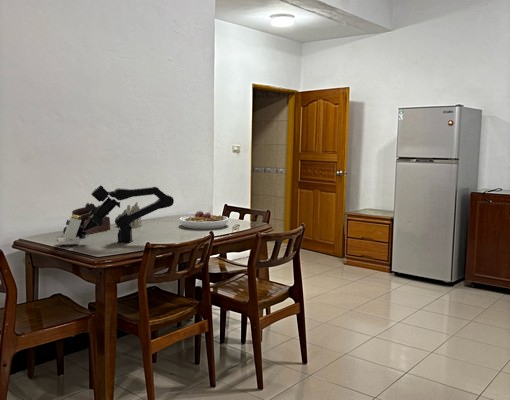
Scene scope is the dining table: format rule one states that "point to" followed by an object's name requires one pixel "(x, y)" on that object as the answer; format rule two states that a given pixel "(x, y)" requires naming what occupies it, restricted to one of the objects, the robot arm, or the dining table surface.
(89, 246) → the dining table surface
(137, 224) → the ceramic cottage
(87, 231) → the letter holder
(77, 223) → the brushed metal block
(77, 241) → the gray rectangular block
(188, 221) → the bowl
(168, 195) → the robot arm
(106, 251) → the dining table surface
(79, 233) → the end cap
